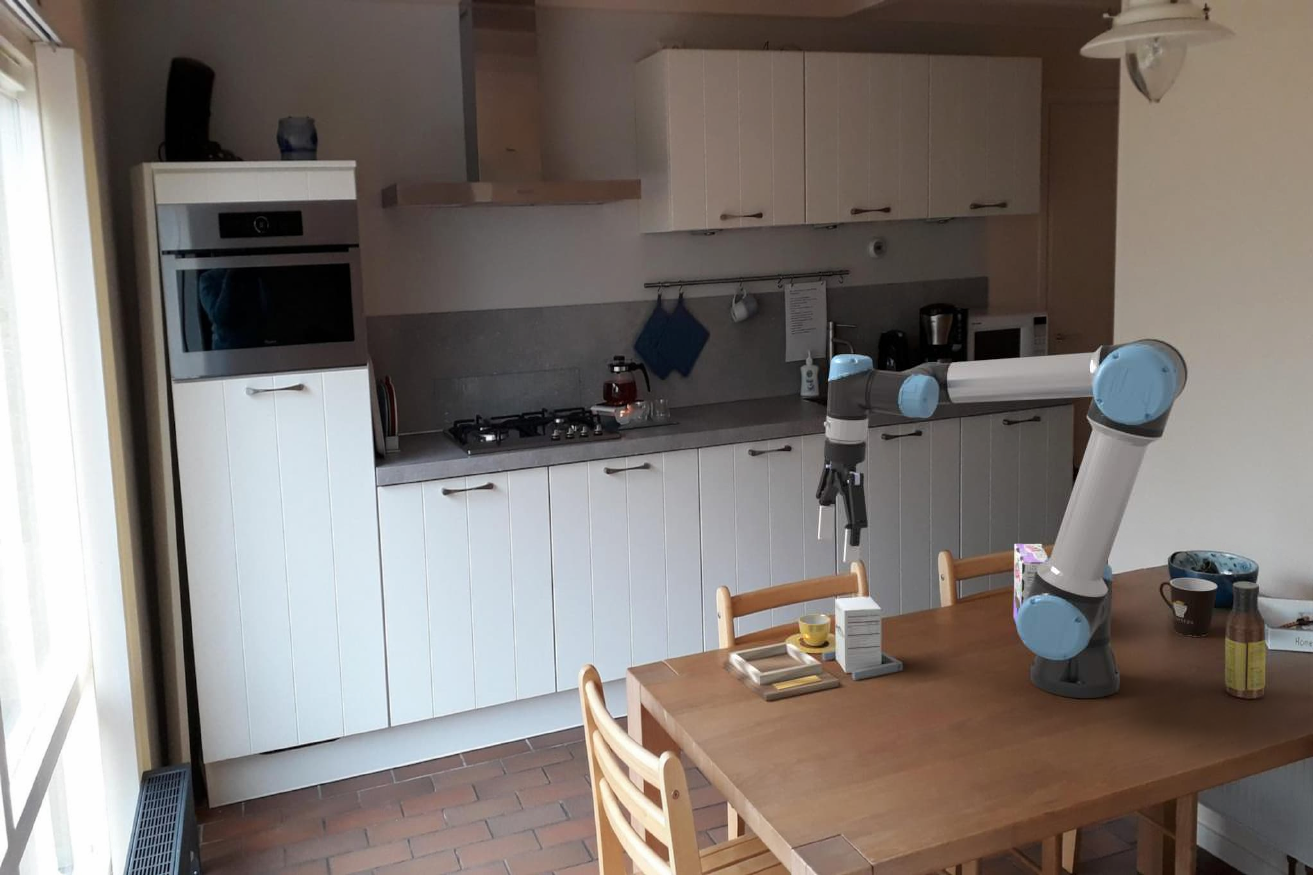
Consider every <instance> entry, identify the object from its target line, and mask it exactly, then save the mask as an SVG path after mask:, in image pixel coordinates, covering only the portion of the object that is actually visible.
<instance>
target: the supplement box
mask: <svg viewBox="0 0 1313 875" xmlns="http://www.w3.org/2000/svg"><path fill="white" fill-rule="evenodd" d="M834 603H835V604H834V605H835V606H834V614H835V615H834V616H835V617H834V618H835V619H834V620H835V629H834V630H835V634H834V635H835V636H836V659H835V660H836V661H837V662H838V664H839V665H840V666H841V668H842V669H843V671H844V673H845V674H852V671H854V670H859V669H864V668H869V667H874V666H878V665H883V664H882V663H883V662H882V660H881V651H882V607H880V606H879V604H878V603H877V602H876V601H875V600H874V599H873V598H872V597H871V596H857V597H845V598H843V597H842V598H835V600H834Z"/></svg>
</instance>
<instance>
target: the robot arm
mask: <svg viewBox="0 0 1313 875" xmlns="http://www.w3.org/2000/svg"><path fill="white" fill-rule="evenodd" d="M1188 373H1189V371H1188V366H1187V362H1186V360H1185V357H1184V356H1183V355H1182V353H1181V351H1180V350H1178V348H1176V347H1175V346H1174V345H1172V344H1171V343H1170V342H1168V341H1165V340H1162V339H1157V338H1143V339H1138V340H1134V341H1130V342H1123V343H1120V344H1119V343H1118V344H1111V345H1100V347H1098V348H1097V350H1096V351H1094V352H1084V353H1083V352H1081V353H1080V352H1079V353H1070V354H1069V353H1067V354H1055V355H1041V356H1028V357H1027V356H1026V357H1012V358H1010V357H1009V358H999V359H986V360H985V359H984V360H972V361H971V360H970V361H957V362H954V361H953V362H944V363H941V362H934V361H932V362H930V361H929V362H925V363H921V364H920V365H917V366H915V367H912V368H910V369H906V370H902V371H892V370H891V371H890V370H882V369H881V370H880V369H877V368H874V365H873V359H872V358H871V357H870V356H867V355H861V354H852V353H851V354H846V353H845V354H838V355H835V356H834V357H833V358H832V359H831V361H830V368H829V374H828V379H827V382H828V386H827V388H828V389H827V408H826V421H824V422H823V426H824V427H825V437H827V438H826V439H825V440H824V448H823V458H824V459H823V460H824V462H823V468H822V472H821V475H820V479H819V483H818V485H817V489H816V494H815V498H816V500H818V503H819V504H818V505H820V506H819V518H818V533H817V534H818V535H817V539H818V540H820V541H821V540H833V537H834V524H835V508H836V507H835V505H837V501H836V498H837V496H838V494H839V495H840V496H842V500H843V501H842V502H843V506H844V511H845V516H846V520H847V523H846V524H845V526H844V529H845V535H844V546H843V547H844V549H843V562H844V563H859V562H860V554H861V553H860V552H861V539H862V538H861V537H862V529H867V528H868V526H869V523H868V513H867V506H866V504H867V503H866V498H865V497H866V496H865V495H866V494H865V488H864V487H865V486H864V484H865V482H864V481H865V476H864V472H857V465H858V464H861V463H864V461H866V453H867V452H866V451H867V443H866V442H865V440H867V438H868V430H869V412H876V413H884V414H889V415H896V416H902V417H903V416H905V417H907V418H910V419H911V418H920V419H925V418H926V419H928V418H930V417H931V416H932V415H933V414H934V412H935V411H936V409H937V406H938V405H951V404H959V403H960V404H961V403H962V404H965V403H983V402H984V403H986V402H1006V401H1007V402H1008V401H1026V400H1050V399H1068V398H1069V399H1070V398H1087V397H1088V398H1090V397H1092V398H1091V401H1090V405H1089V408H1088V410H1087V413H1086V418H1087V420H1088V422H1089V424H1090V426H1091V429H1092V431H1091V433H1090V437H1089V439H1088V442H1087V445H1086V449H1085V451H1084V454H1083V457H1082V461H1081V463H1080V466H1079V470H1078V473H1077V476H1076V479H1075V482H1074V484H1073V488H1072V491H1071V494H1070V497H1069V500H1068V503H1067V506H1066V510H1065V513H1064V516H1063V518H1062V522H1061V524H1060V527H1059V530H1058V533H1057V536H1056V539H1055V542H1054V544H1053V549H1052V551H1051V554H1050V557H1048V559H1046V560H1045V561H1044V563H1042V564H1040V565H1038V567H1037V570H1036V573H1035V575H1034V578H1033V581H1032V584H1031V587H1030V591H1029V594H1028V596H1027V599H1026V600H1025V601H1024V602H1023V603H1022V605H1021V606H1020V607H1019V610H1018V614H1017V618H1016V624H1015V625H1016V630H1017V634H1018V636H1019V638H1020V637H1021V638H1020V640H1021V641H1022V642H1023V644H1024V645H1025V646H1026V647H1027V648H1028V649H1029V650H1030V651H1031V652H1033V653H1034V654H1036V656H1035V659H1034V660H1033V661H1032V663H1031V666H1030V680H1031V682H1032V684H1033V685H1034V686H1036V687H1038V688H1039V689H1041V690H1043V691H1045V692H1046V693H1049V694H1053V695H1057V696H1062V697H1067V698H1077V699H1095V698H1097V699H1098V698H1104V697H1106V696H1108V697H1109V696H1111V695H1113V694H1115V693H1116V692H1117V691H1118V690H1119V689H1120V671H1119V669H1118V668H1117V664H1116V663H1117V662H1116V659H1115V656H1114V652H1113V650H1112V647H1111V632H1112V631H1111V628H1112V627H1111V624H1112V601H1113V600H1112V598H1113V583H1114V579H1113V569H1112V567H1111V565H1110V564H1109V563H1108V561H1109V559H1110V555H1111V552H1112V549H1113V546H1114V543H1115V541H1116V538H1117V535H1118V532H1119V530H1120V526H1121V523H1122V521H1123V518H1124V515H1125V512H1126V509H1127V506H1128V503H1129V500H1130V498H1131V494H1132V491H1133V490H1134V486H1135V483H1136V480H1137V478H1138V474H1139V472H1140V469H1141V465H1142V463H1143V459H1144V458H1145V454H1146V451H1147V449H1148V446H1149V445H1150V444H1151V443H1154V442H1156V441H1158V440H1160V439H1162V437H1163V434H1164V432H1165V428H1166V426H1167V423H1168V420H1169V416H1170V415H1171V412H1172V410H1173V406H1174V403H1175V401H1176V399H1177V398H1179V397H1180V396H1181V394H1182V393H1183V391H1184V390H1185V387H1186V384H1187V381H1188Z"/></svg>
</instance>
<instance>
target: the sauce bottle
mask: <svg viewBox="0 0 1313 875" xmlns="http://www.w3.org/2000/svg"><path fill="white" fill-rule="evenodd" d="M1232 593H1233V604H1232V609H1231V611H1230V612H1229V614H1228V616H1227V617H1226V619H1225V636H1224V637H1225V638H1224V639H1225V641H1224V643H1225V644H1224V666H1225V667H1224V684H1225V690H1226V692H1227V693H1228V694H1229V695H1230V696H1233V697H1236V698H1242V699H1245V700H1255V699H1260V698H1262V697H1263V696H1264V695H1265V686H1266V639H1267V638H1266V622H1265V620H1264V618H1263V617H1262V614H1261V612H1260V610H1259V605H1258V599H1259V597H1258V596H1259V593H1260V586H1259V584H1257V583H1255V582H1251V581H1243V580H1242V581H1236V582H1234V583H1233V584H1232Z"/></svg>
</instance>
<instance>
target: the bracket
mask: <svg viewBox="0 0 1313 875" xmlns="http://www.w3.org/2000/svg"><path fill="white" fill-rule="evenodd" d="M821 660H822V661H824V662H827V661H831V660H832V661H833V660H836V649H835V650H830V651H824V652H822V653H821ZM881 660H882V663H883V664H882V665H878V666H874V667H869V668H864V669H859V670H854V671H852V673H851V679H852V680H854V681H858V680H862V679H867V678H873V677H878V676H882V675H883V676H884V675H887V674H891V673H898V672H901V671H903V669H904V668H903V662H902V661H900V660H898V659H896V658H895V657H893V656H891V655H890V654H888V653H886V652H884V651H883V650H881Z"/></svg>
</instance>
